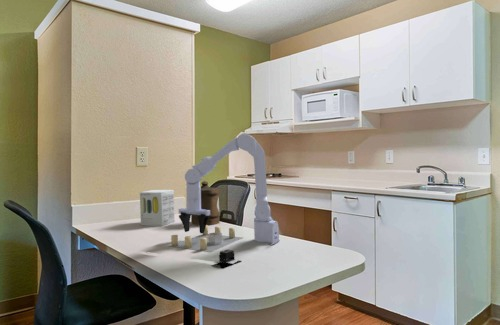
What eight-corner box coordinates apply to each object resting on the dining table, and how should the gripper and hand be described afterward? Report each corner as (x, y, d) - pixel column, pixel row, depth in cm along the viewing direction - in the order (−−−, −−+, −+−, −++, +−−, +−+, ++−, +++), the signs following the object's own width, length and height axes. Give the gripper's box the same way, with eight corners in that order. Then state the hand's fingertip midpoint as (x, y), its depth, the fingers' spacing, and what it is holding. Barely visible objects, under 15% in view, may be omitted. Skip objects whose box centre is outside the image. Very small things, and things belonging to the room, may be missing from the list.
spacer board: (243, 239, 145) (243, 227, 145) (210, 255, 124) (210, 240, 124) (204, 235, 154) (204, 224, 154) (167, 249, 133) (166, 236, 133)
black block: (231, 258, 121) (231, 245, 120) (248, 262, 116) (247, 248, 116) (205, 268, 111) (205, 253, 111) (222, 272, 106) (221, 257, 106)
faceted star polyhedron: (225, 242, 138) (224, 233, 138) (218, 245, 133) (217, 235, 133) (213, 240, 141) (212, 232, 140) (205, 243, 136) (205, 234, 136)
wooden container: (225, 222, 185) (224, 180, 185) (202, 226, 175) (201, 182, 174) (208, 219, 196) (207, 180, 195) (185, 223, 186) (184, 181, 185)
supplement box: (139, 225, 182) (138, 192, 182) (153, 220, 195) (153, 189, 195) (162, 226, 179) (161, 192, 178) (175, 221, 191) (174, 189, 191)
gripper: (173, 199, 141) (174, 232, 142) (202, 200, 134) (203, 235, 135) (184, 197, 148) (185, 229, 148) (212, 198, 141) (213, 232, 141)
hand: (194, 232), depth 142 cm, fingers open, 7 cm apart
